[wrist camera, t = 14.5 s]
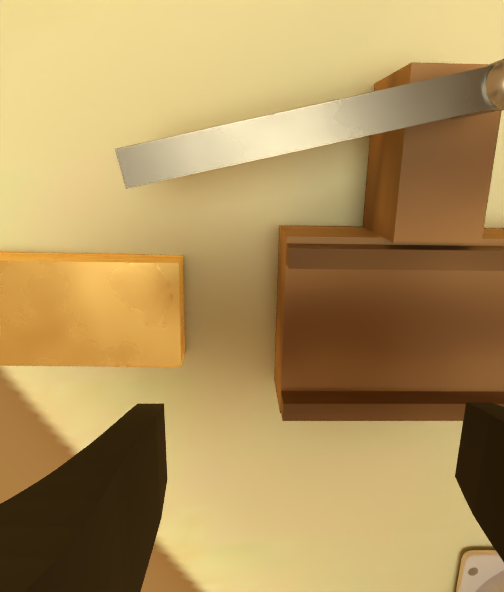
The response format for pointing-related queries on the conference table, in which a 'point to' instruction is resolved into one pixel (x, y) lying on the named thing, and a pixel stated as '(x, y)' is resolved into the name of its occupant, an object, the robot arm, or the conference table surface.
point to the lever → (315, 125)
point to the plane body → (399, 282)
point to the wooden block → (91, 309)
